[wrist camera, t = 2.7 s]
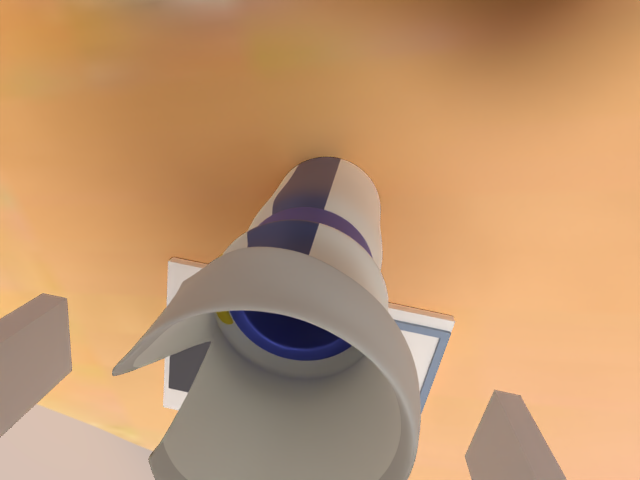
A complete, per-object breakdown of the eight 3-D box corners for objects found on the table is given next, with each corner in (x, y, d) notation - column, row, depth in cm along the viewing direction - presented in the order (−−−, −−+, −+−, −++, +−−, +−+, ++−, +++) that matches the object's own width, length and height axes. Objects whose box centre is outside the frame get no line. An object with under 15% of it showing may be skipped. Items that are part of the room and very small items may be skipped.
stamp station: (173, 256, 30) (164, 264, 28) (452, 316, 29) (456, 326, 28) (167, 400, 35) (160, 412, 34) (402, 452, 34) (404, 466, 33)
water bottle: (281, 272, 29) (-38, 964, 6) (259, 162, 26) (-541, 660, 3) (387, 262, 28) (523, 1082, 5) (376, 146, 25) (593, 767, 2)
